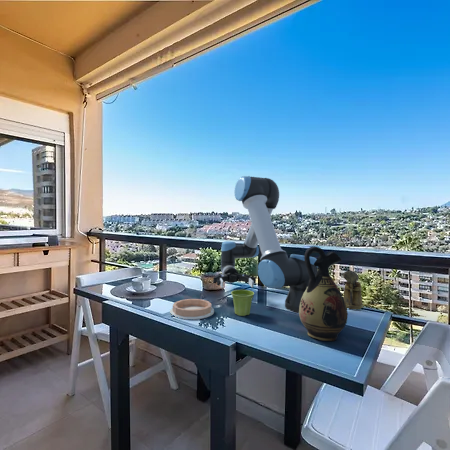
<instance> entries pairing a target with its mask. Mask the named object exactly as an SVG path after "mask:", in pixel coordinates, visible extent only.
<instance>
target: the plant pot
mask: <svg viewBox="0 0 450 450" xmlns="http://www.w3.org/2000/svg"><path fill="white" fill-rule="evenodd" d="M230 294H231V296H232V300H233V301H232V302H233V307H234V308H233V309H234V314H236V316H239V317H241V316H242V317H245V316H249V315H250V314H251V307H252V301H253V298H254V295H255V292H254V291H253V290H249V289H235V290H232V291H231V292H230Z"/></svg>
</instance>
